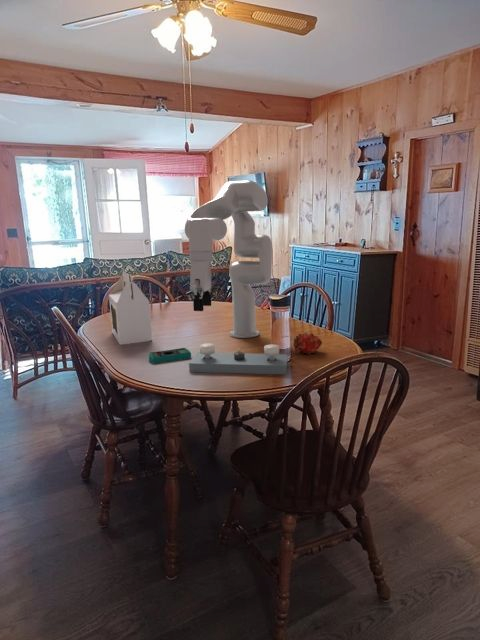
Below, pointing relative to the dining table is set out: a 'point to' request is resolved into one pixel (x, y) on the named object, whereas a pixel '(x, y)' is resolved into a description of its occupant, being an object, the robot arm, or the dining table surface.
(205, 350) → the knob
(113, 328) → the gable box
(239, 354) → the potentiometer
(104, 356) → the dining table surface
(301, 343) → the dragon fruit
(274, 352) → the knob
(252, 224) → the robot arm
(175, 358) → the digital multimeter
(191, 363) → the mount board
